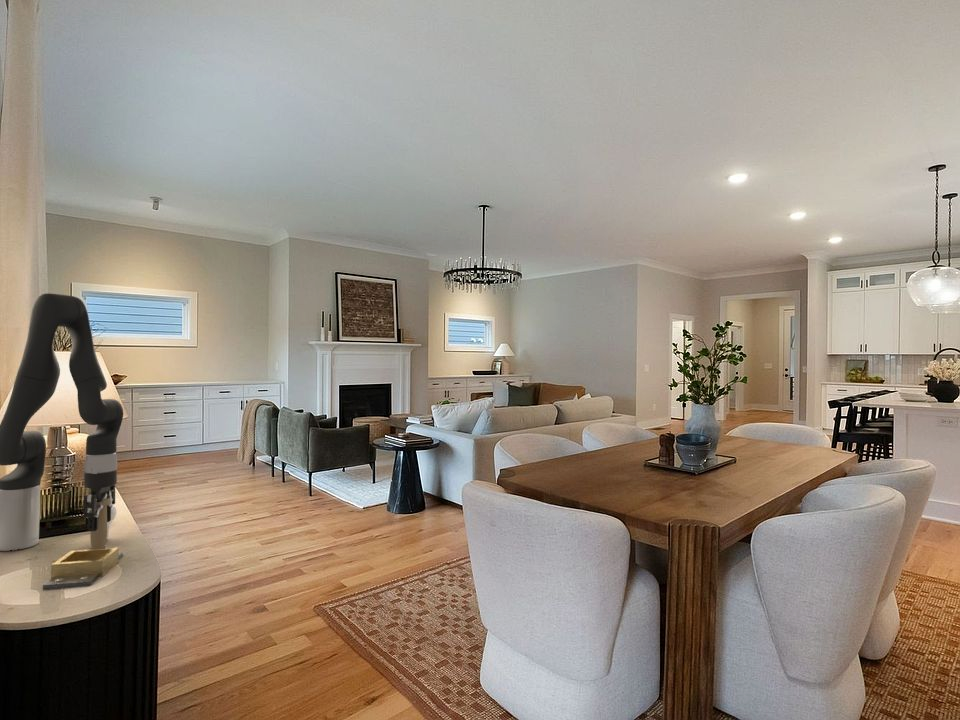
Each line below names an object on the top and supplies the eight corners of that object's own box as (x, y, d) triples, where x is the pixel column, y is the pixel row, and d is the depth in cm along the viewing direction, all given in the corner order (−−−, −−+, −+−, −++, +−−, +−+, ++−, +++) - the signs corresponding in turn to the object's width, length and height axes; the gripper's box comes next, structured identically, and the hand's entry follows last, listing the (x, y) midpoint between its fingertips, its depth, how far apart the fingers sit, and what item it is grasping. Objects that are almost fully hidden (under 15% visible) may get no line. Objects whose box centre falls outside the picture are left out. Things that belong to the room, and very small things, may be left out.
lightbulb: (119, 539, 156) (120, 502, 157) (95, 544, 151) (96, 507, 151) (110, 534, 160) (111, 499, 160) (86, 540, 154) (87, 504, 155)
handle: (87, 556, 142) (89, 502, 142) (88, 549, 147) (89, 497, 147) (108, 553, 144) (110, 500, 145) (108, 546, 150) (110, 495, 150)
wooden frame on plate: (39, 589, 121) (40, 572, 121) (79, 558, 140) (80, 544, 140) (93, 585, 124) (93, 568, 124) (125, 555, 143) (125, 541, 143)
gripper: (96, 465, 152) (95, 520, 151) (73, 474, 138) (71, 535, 138) (125, 464, 154) (124, 518, 153) (105, 473, 140) (103, 533, 140)
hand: (99, 526), depth 146 cm, fingers open, 8 cm apart
